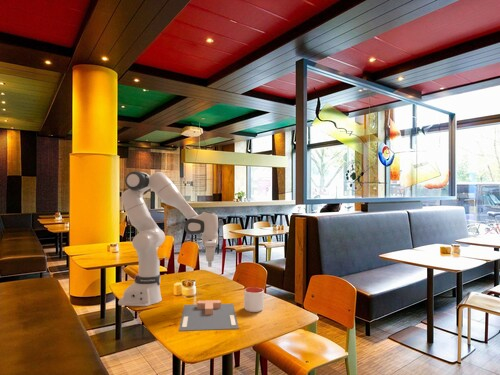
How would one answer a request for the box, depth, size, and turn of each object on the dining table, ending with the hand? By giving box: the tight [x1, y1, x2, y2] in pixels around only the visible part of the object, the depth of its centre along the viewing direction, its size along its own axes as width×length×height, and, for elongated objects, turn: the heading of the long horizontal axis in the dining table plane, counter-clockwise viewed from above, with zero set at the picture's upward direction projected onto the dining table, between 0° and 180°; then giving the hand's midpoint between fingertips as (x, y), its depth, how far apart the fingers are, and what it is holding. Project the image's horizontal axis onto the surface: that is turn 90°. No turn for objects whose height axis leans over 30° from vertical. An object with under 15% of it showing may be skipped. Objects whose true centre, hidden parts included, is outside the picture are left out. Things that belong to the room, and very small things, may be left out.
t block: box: [196, 299, 222, 315], centre depth 163 cm, size 12×12×3 cm
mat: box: [178, 303, 240, 332], centre depth 156 cm, size 26×32×1 cm
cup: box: [243, 287, 265, 313], centre depth 166 cm, size 10×10×10 cm
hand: (209, 266), depth 175 cm, fingers closed
